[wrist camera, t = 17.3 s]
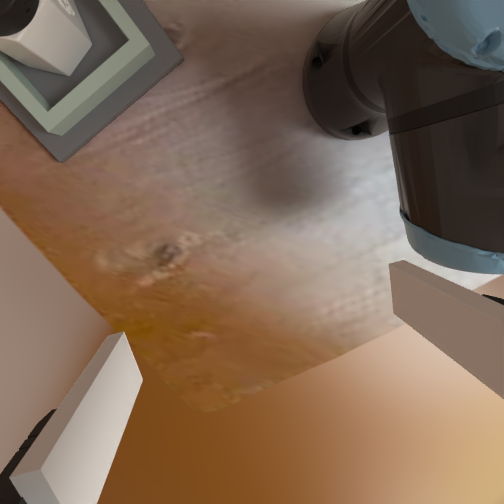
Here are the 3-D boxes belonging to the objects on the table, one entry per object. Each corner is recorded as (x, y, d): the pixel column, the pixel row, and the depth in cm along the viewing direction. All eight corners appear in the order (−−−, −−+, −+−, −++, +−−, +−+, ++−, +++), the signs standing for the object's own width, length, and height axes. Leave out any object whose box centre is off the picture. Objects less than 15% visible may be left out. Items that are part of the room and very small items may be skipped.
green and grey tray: (56, -116, 30) (33, -158, 27) (183, 60, 36) (179, 46, 32) (-79, 11, 32) (-119, -11, 28) (63, 162, 37) (46, 161, 33)
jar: (103, 65, 34) (45, 9, 23) (37, 88, 34) (-56, 42, 22) (66, -24, 32) (-21, -138, 20) (-6, 0, 32) (-135, -102, 20)
